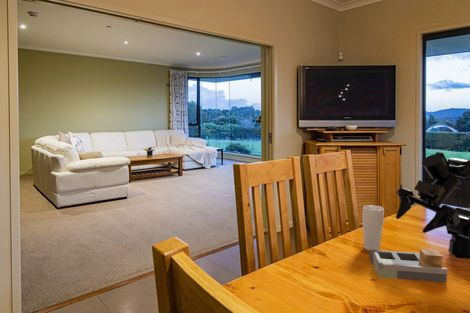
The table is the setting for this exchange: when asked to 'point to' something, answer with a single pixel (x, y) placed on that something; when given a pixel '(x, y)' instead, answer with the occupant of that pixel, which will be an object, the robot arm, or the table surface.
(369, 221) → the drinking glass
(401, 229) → the table surface
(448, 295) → the table surface
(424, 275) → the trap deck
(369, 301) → the table surface
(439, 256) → the ochre block
